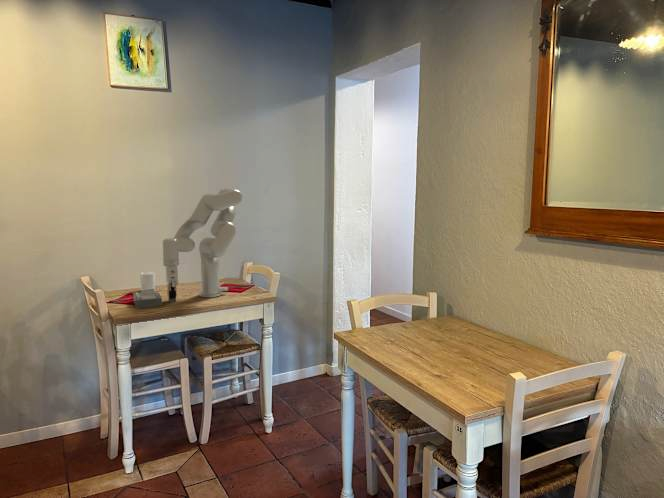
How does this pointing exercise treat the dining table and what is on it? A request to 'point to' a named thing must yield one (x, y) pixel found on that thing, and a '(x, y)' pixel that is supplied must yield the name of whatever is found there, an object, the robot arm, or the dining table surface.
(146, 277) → the white cup
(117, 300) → the dining table surface
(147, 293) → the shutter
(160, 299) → the grey sliding cover box
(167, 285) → the tan rectangular block
